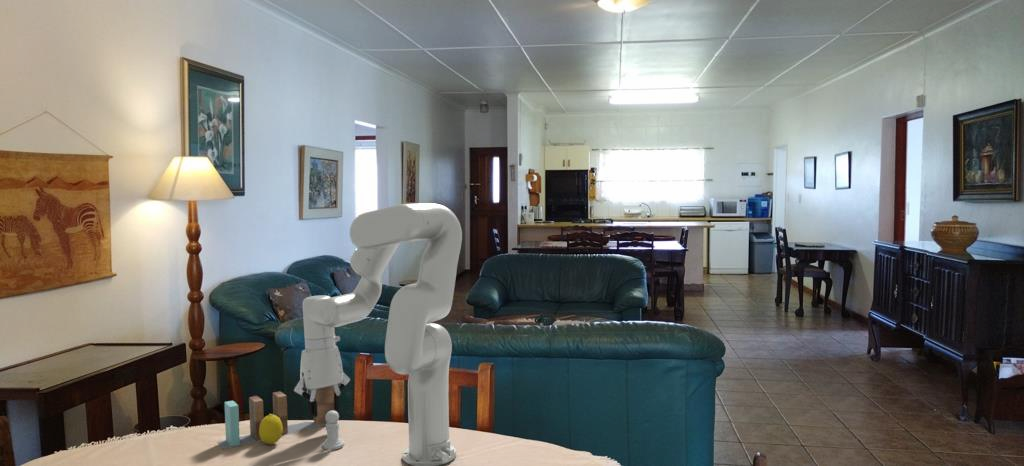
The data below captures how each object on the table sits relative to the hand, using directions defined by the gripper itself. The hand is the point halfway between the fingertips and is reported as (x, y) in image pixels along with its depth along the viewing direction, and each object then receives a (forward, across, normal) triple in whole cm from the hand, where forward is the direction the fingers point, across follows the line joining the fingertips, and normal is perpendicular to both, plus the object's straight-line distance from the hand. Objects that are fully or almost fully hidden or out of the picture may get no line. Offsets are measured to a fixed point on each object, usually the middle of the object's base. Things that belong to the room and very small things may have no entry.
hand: (324, 412), depth 167 cm
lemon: (+6, +13, -2) cm, 15 cm away
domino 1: (+5, +15, -9) cm, 18 cm away
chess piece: (+7, +2, +9) cm, 11 cm away
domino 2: (+5, +9, -9) cm, 14 cm away
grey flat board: (+5, +10, -9) cm, 14 cm away
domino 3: (+3, 0, 0) cm, 3 cm away
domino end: (+5, +21, -9) cm, 23 cm away
